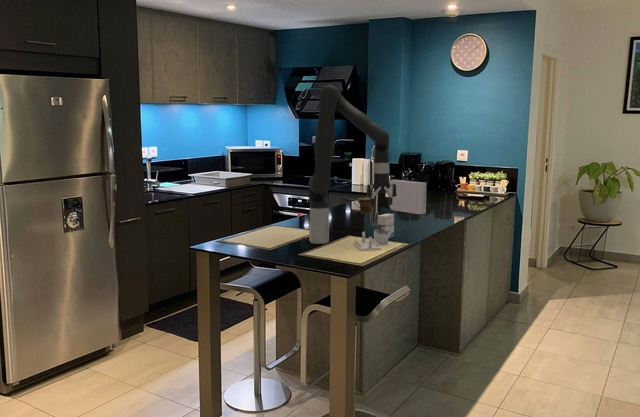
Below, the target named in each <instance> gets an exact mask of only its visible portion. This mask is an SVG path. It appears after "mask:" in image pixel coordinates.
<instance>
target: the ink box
mask: <svg viewBox="0 0 640 417" xmlns="http://www.w3.org/2000/svg"><path fill="white" fill-rule="evenodd" d="M377 229H383V230H385V231H386V232H388V239H391V238H394V237H395V214H394V213H384V214H380V215H379V214H378V215H377Z"/></svg>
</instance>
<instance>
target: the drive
mask: <svg viewBox="0 0 640 417" xmlns="http://www.w3.org/2000/svg"><path fill="white" fill-rule="evenodd" d="M373 239H374V240H375V241H376V242H377V243H379V246H387V245H389V238H388V232H386V231H385V230H383V229H378V228H377V229H374V230H373Z"/></svg>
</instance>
